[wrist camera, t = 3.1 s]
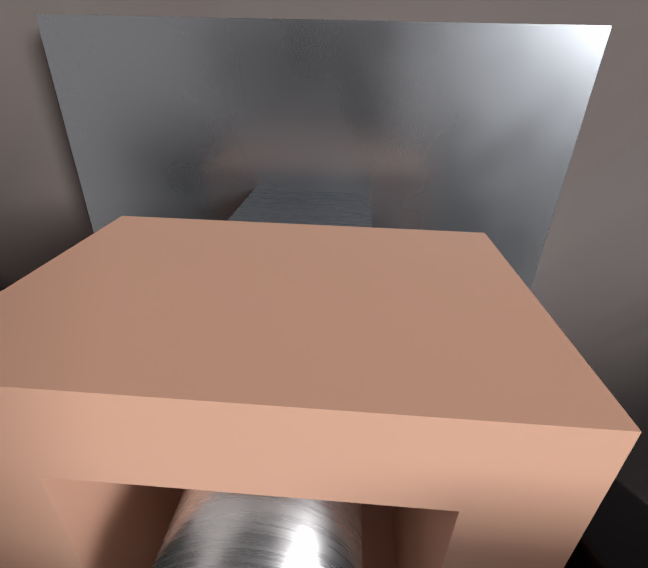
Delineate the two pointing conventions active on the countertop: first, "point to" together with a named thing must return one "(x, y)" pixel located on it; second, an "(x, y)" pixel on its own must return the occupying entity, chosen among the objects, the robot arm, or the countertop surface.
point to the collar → (296, 394)
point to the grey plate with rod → (318, 168)
